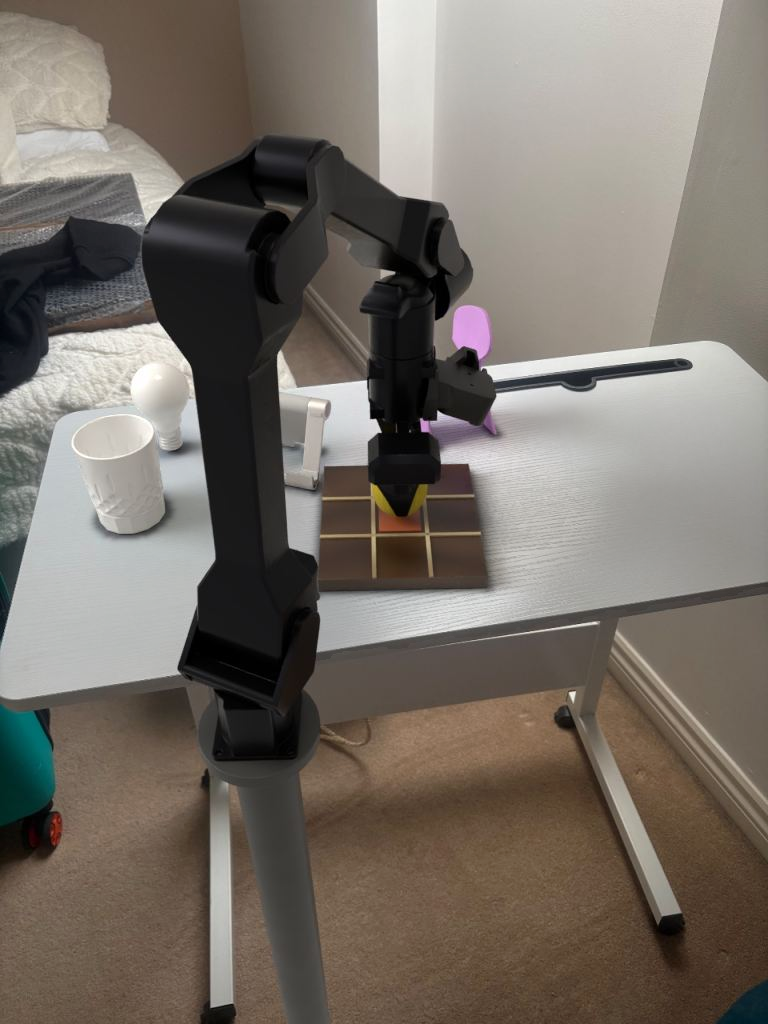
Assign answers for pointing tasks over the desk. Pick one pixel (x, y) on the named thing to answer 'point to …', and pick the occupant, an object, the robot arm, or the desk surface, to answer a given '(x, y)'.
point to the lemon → (386, 507)
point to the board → (399, 536)
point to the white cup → (121, 471)
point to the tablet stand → (304, 434)
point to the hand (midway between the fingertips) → (400, 486)
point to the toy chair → (471, 343)
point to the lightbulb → (162, 400)
